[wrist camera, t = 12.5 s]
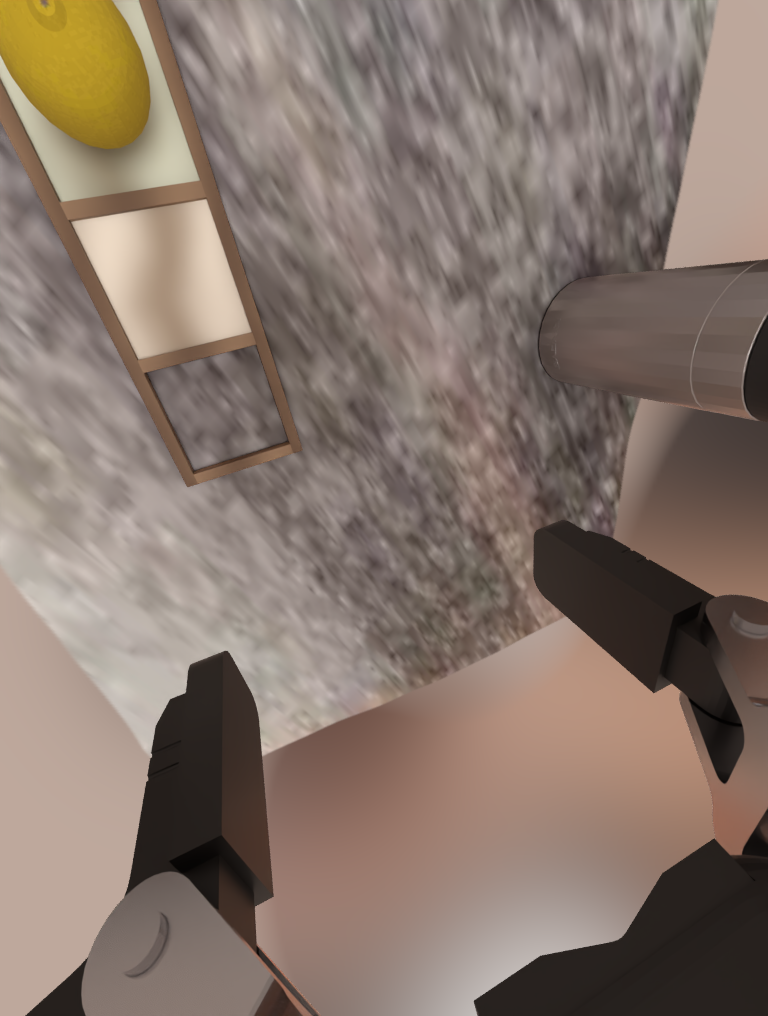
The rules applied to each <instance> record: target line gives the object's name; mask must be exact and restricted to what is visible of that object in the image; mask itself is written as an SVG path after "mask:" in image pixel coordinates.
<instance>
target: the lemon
mask: <svg viewBox="0 0 768 1016" xmlns="http://www.w3.org/2000/svg"><path fill="white" fill-rule="evenodd" d="M0 56H1V58H2V60H3V62H4V64H5V66H6V68H7V70H8V72H9V73H10V75H11V77H12V78H13V80H14V81H15V82H16V84H17V85H18V86H19V88H20V89H21V91H22V92H23V93H24V95H25V96H26V98H27V99H28V100H29V101H30V103H31V104H32V105H33V106H34V107H35V108H36V109H37V110H38V111H39V112H40V113H41V114H42V115H43V116H44V117H45V118H46V119H47V120H48V121H49V122H50V123H52V124H53V125H54V126H56V127H57V128H59V129H60V130H61V131H63V132H64V133H66V134H67V135H69V136H70V137H72V138H74V139H76V140H78V141H80V142H82V143H85V144H87V145H89V146H93V147H98V148H103V149H114V148H122V147H124V146H126V145H128V144H130V143H132V142H133V141H134V140H135V139H136V138H137V137H138V136H139V135H140V134H141V133H142V132H143V129H144V127H145V125H146V123H147V121H148V116H149V110H150V103H151V98H150V85H149V77H148V73H147V70H146V66H145V63H144V59H143V56H142V53H141V50H140V48H139V46H138V44H137V42H136V40H135V37H134V35H133V33H132V31H131V29H130V27H129V25H128V23H127V22H126V20H125V19H124V17H123V16H122V14H121V13H120V11H119V10H118V8H117V7H116V5H115V4H114V2H113V1H112V0H0Z"/></svg>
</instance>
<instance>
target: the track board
mask: <svg viewBox="0 0 768 1016" xmlns="http://www.w3.org/2000/svg"><path fill="white" fill-rule="evenodd" d="M112 1H113V2H114V4H115V5H116V7H117V8H118V10H119V11H120V13H121V14H122V16H123V17H124V19H125V20H126V22H127V23H128V25H129V27H130V29H131V31H132V33H133V35H134V37H135V40H136V42H137V44H138V46H139V48H140V50H141V53H142V56H143V59H144V63H145V66H146V70H147V73H148V77H149V85H150V98H151V103H150V110H149V116H148V121H147V123H146V125H145V127H144V129H143V132H142V133H141V134H140V135H139V136H138V137H137V138H136V139H135V140H134V141H133V142H132V143H130V144H128V145H126V146H124V147H122V148H114V149H103V148H98V147H93V146H89V145H87V144H85V143H82V142H80V141H78V140H76V139H74V138H72V137H70V136H69V135H67V134H66V133H64V132H63V131H61V130H60V129H59V128H57V127H56V126H54V125H53V124H52V123H50V122H49V121H48V120H47V119H46V118H45V117H44V116H43V115H42V114H41V113H40V112H39V111H38V110H37V109H36V108H35V107H34V106H33V105H32V104H31V103H30V101H29V100H28V99H27V98H26V96H25V95H24V93H23V92H22V91H21V89H20V88H19V86H18V85H17V84H16V82H15V81H14V80H13V78H12V77H11V75H10V73H9V72H8V70H7V68H6V66H5V64H4V62H3V60H2V58H1V56H0V121H1V123H2V125H3V127H4V129H5V131H6V133H7V135H8V137H9V139H10V141H11V143H12V145H13V147H14V149H15V150H16V152H17V154H18V156H19V158H20V160H21V162H22V164H23V166H24V168H25V170H26V172H27V174H28V176H29V178H30V180H31V182H32V184H33V186H34V188H35V190H36V192H37V194H38V196H39V197H40V199H41V201H42V203H43V205H44V207H45V209H46V211H47V213H48V215H49V217H50V219H51V221H52V223H53V225H54V227H55V229H56V231H57V233H58V235H59V237H60V239H61V241H62V243H63V245H64V246H65V248H66V250H67V252H68V254H69V256H70V258H71V260H72V262H73V264H74V266H75V268H76V270H77V272H78V274H79V276H80V278H81V280H82V282H83V284H84V286H85V288H86V290H87V292H88V293H89V295H90V297H91V299H92V301H93V303H94V305H95V307H96V309H97V311H98V313H99V315H100V317H101V319H102V321H103V323H104V325H105V327H106V329H107V331H108V333H109V335H110V337H111V339H112V341H113V342H114V344H115V346H116V348H117V350H118V352H119V354H120V356H121V358H122V360H123V362H124V364H125V366H126V368H127V370H128V372H129V374H130V376H131V378H132V380H133V382H134V384H135V386H136V388H137V389H138V391H139V393H140V395H141V397H142V399H143V401H144V403H145V405H146V407H147V409H148V411H149V413H150V415H151V417H152V419H153V421H154V423H155V425H156V427H157V429H158V431H159V433H160V435H161V437H162V438H163V440H164V442H165V444H166V446H167V448H168V450H169V452H170V454H171V456H172V458H173V460H174V462H175V464H176V466H177V468H178V470H179V472H180V474H181V476H182V478H183V480H184V482H185V484H186V485H187V487H190V486H193V485H196V484H199V483H202V482H205V481H208V480H212V479H215V478H218V477H221V476H224V475H227V474H230V473H233V472H236V471H240V470H243V469H246V468H249V467H252V466H255V465H258V464H261V463H264V462H268V461H271V460H274V459H277V458H280V457H283V456H286V455H289V454H292V453H296V452H299V451H302V447H301V443H300V440H299V437H298V434H297V431H296V428H295V425H294V422H293V419H292V416H291V413H290V410H289V407H288V404H287V400H286V397H285V394H284V391H283V388H282V385H281V382H280V379H279V376H278V373H277V370H276V367H275V364H274V361H273V357H272V354H271V351H270V348H269V345H268V342H267V339H266V336H265V333H264V330H263V327H262V324H261V321H260V317H259V314H258V311H257V308H256V305H255V302H254V299H253V296H252V293H251V290H250V287H249V284H248V281H247V278H246V274H245V271H244V268H243V265H242V262H241V259H240V256H239V253H238V250H237V247H236V244H235V241H234V238H233V234H232V231H231V228H230V225H229V222H228V219H227V216H226V213H225V210H224V207H223V204H222V201H221V198H220V195H219V191H218V188H217V185H216V182H215V179H214V176H213V173H212V170H211V167H210V164H209V161H208V158H207V155H206V152H205V148H204V145H203V142H202V139H201V136H200V133H199V130H198V127H197V124H196V121H195V118H194V115H193V112H192V108H191V105H190V102H189V99H188V96H187V93H186V90H185V87H184V84H183V81H182V78H181V75H180V72H179V69H178V65H177V62H176V59H175V56H174V53H173V50H172V47H171V44H170V41H169V38H168V35H167V32H166V29H165V26H164V22H163V19H162V16H161V13H160V10H159V7H158V4H157V1H156V0H112ZM252 345H256V347H257V350H258V353H259V356H260V359H261V362H262V365H263V368H264V371H265V373H266V376H267V379H268V382H269V385H270V388H271V391H272V394H273V397H274V400H275V403H276V406H277V409H278V412H279V415H280V418H281V420H282V423H283V426H284V429H285V432H286V435H287V438H288V442H285V443H282V444H279V445H276V446H273V447H269V448H266V449H263V450H260V451H257V452H253V453H250V454H247V455H244V456H241V457H237V458H234V459H231V460H228V461H225V462H221V463H218V464H215V465H212V466H209V467H206V468H202V469H199V470H196V471H194V470H193V468H192V466H191V464H190V462H189V460H188V458H187V456H186V454H185V452H184V450H183V448H182V445H181V443H180V441H179V439H178V437H177V435H176V433H175V431H174V429H173V427H172V425H171V423H170V421H169V419H168V417H167V415H166V413H165V411H164V409H163V407H162V405H161V403H160V401H159V398H158V396H157V394H156V392H155V390H154V388H153V386H152V384H151V382H150V380H149V378H148V376H147V374H146V372H150V371H153V370H157V369H161V368H165V367H169V366H173V365H177V364H181V363H185V362H189V361H193V360H197V359H201V358H205V357H209V356H213V355H217V354H221V353H225V352H229V351H232V350H236V349H240V348H244V347H248V346H252Z"/></svg>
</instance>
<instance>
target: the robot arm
mask: <svg viewBox="0 0 768 1016" xmlns="http://www.w3.org/2000/svg"><path fill="white" fill-rule="evenodd" d="M539 350H540V357H541V361H542V364H543V366H544V368H545V370H546V372H547V373H548V374H549V375H550V376H551V377H552V378H553V379H555V380H557V381H559V382H564V383H569V384H574V385H579V386H584V387H589V388H593V389H598V390H603V391H608V392H613V393H618V394H623V395H628V396H633V397H639V398H644V399H649V400H654V401H659V402H664V403H669V404H674V405H680V406H684V407H690V408H695V409H700V410H705V411H711V412H716V413H721V414H726V415H732V416H737V417H742V418H747V419H752V420H758V421H763V422H768V259H765V260H755V261H745V262H735V263H725V264H715V265H706V266H695V267H685V268H675V269H665V270H655V271H645V272H635V273H623V274H613V275H603V276H593V277H585V278H581V279H577V280H576V281H574V282H572V283H570V284H568V285H567V286H566V287H565V288H564V289H563V290H561V291H560V293H559V294H558V295H557V296H556V297H555V299H554V300H553V302H552V303H551V305H550V307H549V308H548V310H547V312H546V315H545V317H544V320H543V323H542V327H541V331H540V339H539ZM533 574H534V580H535V583H536V586H537V588H538V589H539V591H540V592H541V594H542V595H543V596H544V597H545V598H546V599H547V600H548V601H549V602H551V603H552V604H553V605H554V606H555V607H556V608H557V609H559V610H560V611H561V612H562V613H563V614H564V615H565V616H567V617H568V618H569V619H570V620H571V621H572V622H573V623H575V624H576V625H577V626H578V627H579V628H580V629H581V630H583V631H584V632H585V633H586V634H587V635H588V636H589V637H591V638H592V639H593V640H594V641H595V642H596V643H597V644H598V645H600V646H601V647H602V648H603V649H604V650H605V651H607V652H608V653H609V654H610V655H611V656H612V657H613V658H614V659H616V660H617V661H618V662H619V663H620V664H621V665H622V666H624V667H625V668H626V669H627V670H628V671H629V672H630V673H631V674H633V675H634V676H635V677H636V678H637V679H638V680H639V681H640V682H642V683H643V684H644V685H645V686H646V687H647V688H648V689H650V690H651V691H652V692H653V693H655V692H657V691H659V690H661V689H663V688H664V687H666V686H668V685H670V684H673V685H674V686H676V687H677V688H678V689H679V690H680V694H679V700H680V704H681V707H682V710H683V712H684V716H685V718H686V721H687V724H688V727H689V730H690V733H691V736H692V738H693V741H694V744H695V747H696V750H697V753H698V756H699V759H700V762H701V764H702V767H703V770H704V773H705V776H706V779H707V782H708V785H709V788H710V791H711V796H712V804H713V812H712V816H713V827H714V833H715V838H716V840H715V839H713V840H711V841H710V842H708V843H707V844H705V845H704V846H702V847H701V848H699V849H698V850H696V851H695V852H693V853H692V854H690V855H689V856H688V857H686V858H684V859H683V860H682V861H680V862H678V863H677V864H676V865H674V866H673V867H671V868H670V869H668V870H667V871H665V872H664V873H662V875H661V876H660V878H659V880H658V881H657V883H656V885H655V886H654V888H653V890H652V891H651V893H650V894H649V896H648V898H647V899H646V901H645V903H644V904H643V906H642V908H641V909H640V911H639V912H638V914H637V916H636V917H635V919H634V921H633V922H632V924H631V925H630V927H629V928H628V930H627V932H626V933H625V934H624V936H623V937H622V938H620V939H619V940H617V941H614V942H609V943H604V944H599V945H594V946H589V947H583V948H578V949H573V950H568V951H563V952H558V953H552V954H547V955H542V956H540V957H538V958H537V959H535V960H534V961H532V962H531V963H529V964H528V965H526V966H525V967H523V968H522V969H520V970H519V971H517V972H516V973H514V974H513V975H511V976H510V977H508V978H507V979H506V980H504V981H503V982H501V983H500V984H498V985H497V986H495V987H494V988H492V989H491V990H489V991H488V992H486V993H485V994H483V995H482V996H480V997H479V998H477V999H476V1000H474V1004H475V1008H476V1011H477V1015H478V1016H768V602H766V601H763V600H760V599H757V598H753V597H748V596H742V595H722V596H719V597H714V596H713V595H711V594H709V593H707V592H705V591H704V590H702V589H700V588H698V587H696V586H695V585H693V584H691V583H690V582H688V581H686V580H684V579H683V578H681V577H679V576H677V575H676V574H674V573H672V572H670V571H669V570H667V569H665V568H663V567H662V566H660V565H658V564H657V563H655V562H653V561H651V560H647V559H646V557H644V556H642V555H641V554H639V553H637V552H636V551H631V550H630V548H628V547H627V546H625V545H623V544H622V543H620V542H618V541H616V540H615V539H613V538H611V537H608V536H604V535H601V534H598V533H594V532H591V531H587V532H586V531H584V530H583V529H581V528H579V527H577V526H576V525H574V524H572V523H571V522H569V521H566V520H561V521H558V522H556V523H553V524H551V525H548V526H546V527H543V528H540V529H538V530H537V531H536V532H535V534H534V570H533ZM151 753H152V758H150V764H149V770H148V781H147V782H146V787H145V793H144V799H143V805H142V811H141V817H140V823H139V828H138V834H137V840H136V846H135V852H134V858H133V864H132V870H131V875H130V880H129V884H128V888H127V891H126V894H125V897H124V898H123V899H122V901H121V902H120V903H119V904H118V905H117V906H116V907H115V909H114V910H113V911H112V913H111V914H110V915H109V917H108V918H107V920H106V922H105V923H104V925H103V926H102V928H101V930H100V932H99V934H98V935H97V937H96V940H95V941H94V944H93V946H92V949H91V951H90V953H89V956H88V958H87V959H86V960H85V961H84V962H83V963H82V964H81V966H79V968H77V969H76V970H75V971H74V972H73V973H72V974H71V975H70V976H69V977H68V978H67V979H66V980H65V981H63V982H62V983H61V984H60V985H59V986H58V987H57V988H56V989H55V990H53V992H51V993H50V994H49V995H48V996H47V997H46V998H45V999H43V1000H42V1001H41V1002H40V1003H39V1004H38V1005H37V1006H36V1007H34V1008H33V1009H32V1010H31V1011H30V1012H29V1013H28V1014H27V1015H26V1016H321V1015H320V1014H319V1013H318V1012H317V1010H316V1009H315V1008H314V1007H313V1006H312V1005H311V1004H310V1003H309V1001H308V1000H307V999H306V998H305V997H304V996H303V995H302V994H301V992H299V990H298V989H297V988H296V987H295V986H294V985H293V984H292V982H291V981H290V980H289V979H288V978H287V977H286V976H285V975H284V973H283V972H282V971H281V970H280V969H279V968H278V967H277V966H276V964H275V963H274V962H273V961H272V960H271V959H270V958H269V957H268V956H267V954H266V953H265V952H264V951H263V950H262V949H261V948H260V946H259V945H258V944H257V943H256V924H255V906H257V905H259V904H261V903H262V902H264V901H266V900H268V899H270V898H272V897H273V885H272V871H271V861H270V860H271V859H270V848H269V836H268V823H267V811H266V799H265V787H264V775H263V763H262V751H261V739H260V727H259V717H258V712H257V708H256V704H255V701H254V698H253V695H252V693H251V691H250V689H249V688H248V686H247V684H246V682H245V680H244V678H243V677H242V675H241V673H240V671H239V669H238V667H237V666H236V664H235V662H234V660H233V658H232V657H231V655H230V653H229V652H228V651H223V652H221V653H218V654H216V655H213V656H211V657H208V658H206V659H203V660H200V661H198V662H195V663H193V664H191V665H190V667H189V670H188V679H187V688H186V693H185V694H182V695H180V696H177V697H175V698H172V699H170V701H169V703H168V704H167V706H166V708H165V710H164V712H163V714H162V716H161V717H160V719H159V721H158V723H157V725H156V728H155V734H154V740H153V746H152V752H151Z"/></svg>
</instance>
